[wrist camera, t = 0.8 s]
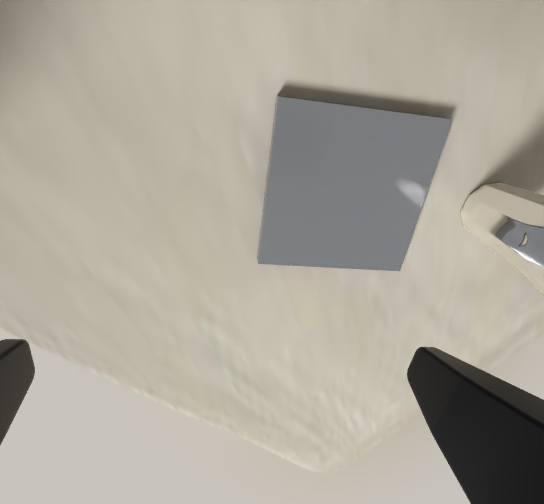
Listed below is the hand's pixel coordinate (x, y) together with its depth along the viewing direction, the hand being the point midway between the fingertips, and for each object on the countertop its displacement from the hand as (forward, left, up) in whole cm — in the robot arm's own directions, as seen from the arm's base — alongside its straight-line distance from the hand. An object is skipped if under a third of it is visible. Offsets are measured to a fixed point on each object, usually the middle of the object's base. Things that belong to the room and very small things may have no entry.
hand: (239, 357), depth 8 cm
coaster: (+5, +3, -12) cm, 13 cm away
